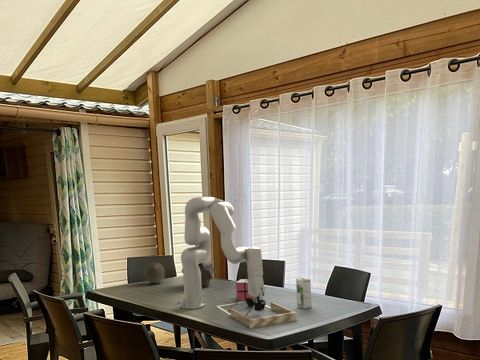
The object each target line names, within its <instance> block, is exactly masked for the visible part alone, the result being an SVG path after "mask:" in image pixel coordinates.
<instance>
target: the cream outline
mask: <svg viewBox="0 0 480 360" xmlns="http://www.w3.org/2000/svg"><path fill="white" fill-rule="evenodd" d="M235 303H237V302H235ZM235 303H227V304H223V305H221V304H220V305H216V306H215V307H216V308H217V309H219V310H221V311H222V312H223V313H225V314H227V315H228V316H230V313H228V312H229V311H227V310H226V309H224V308H222V307H227V306H232V305H233V304H235ZM244 303H246V301H241V302H239V303H237V304H235V305H238V304H244ZM246 304H247V303H246ZM233 306H234V305H233ZM265 307H266V308H268V309H270V310H272V309H271V307H270V306H268V305H267V304H266V305H265Z"/></svg>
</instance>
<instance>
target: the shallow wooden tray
mask: <svg viewBox="0 0 480 360" xmlns="http://www.w3.org/2000/svg"><path fill="white" fill-rule="evenodd" d="M269 305H270V306H269V307H271V309H270V310H272V311H274V312H276V313H278V314H275V315H270V316H263V317H258V318H250V317H248V316H245V315H246V314H243V313H242V312H239V311H238V310H237V309H235V308H233V307H231V308H230V307H229V310H230V315H229V316H230V317H231V318H234V319H235V320H236V321H238V322H240V323H241V324H243V325H245V326H246V327H247V328H249V329H254V328H255V327H256V328H260V327H261V328H262V327H266V325H267V326H271V325H277V324H283V323H287V322H294V321H297V320H298V319H297V312H296V311H294V310H292V309H290V308H287V307H285V306H283V305H281V304H278V303H276V302H274V301H270V302H269ZM256 328H255V329H256Z"/></svg>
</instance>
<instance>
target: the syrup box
mask: <svg viewBox="0 0 480 360" xmlns="http://www.w3.org/2000/svg"><path fill="white" fill-rule="evenodd" d="M295 280H296V281H295V282H296V283H295V285H296V306H297V307H298V308H301V309H302V310H303V309H309V308H312V287H311V286H312V284H311V278H307V277H296V278H295Z"/></svg>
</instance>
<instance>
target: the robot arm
mask: <svg viewBox="0 0 480 360" xmlns="http://www.w3.org/2000/svg"><path fill="white" fill-rule="evenodd" d="M234 210H235V209H234V207H233V205H232V204H231V203H229V202H227V201H225V200H222V199H220V198H216V197H214V196H197V197H193V198H191V199H189V200H188V201H187V202H186V204H185V207H184V215H185V216H184V217H185V219H184V221H185V222H184V236H183V237H184V242H185V244H186V245H188V246H192V247H187V248H184V250H183V251H182V252H181V254H180V262H181V265H182V268H183V273H182V276H183V292H184V293H183V298H182V299H181V300H176V301H175V305H181V308H182V309H186V310H195V309H201V308H204V307H205V306H206V303H205V302H204V301H203V293H202V292H203V290H202V289H203V287H201V271H200V268H199V266H198V264H199V263H203V262H206V261H207V260H209V258H210V249H211V248H210V247H211V233H210V231H209V229H208V228H207V227H205V226H201V224H202V220H201V216H200V214H203V213H204V214H205V213H210V216H211V217H212V220H213V221H214V223H215V225H216V227H217V228H218V232H219V233H220V245H221V246H220V247H221V250H222V252H223V254H224V256H225V258H226V259H227V261H228V262H229V263H231V264H233V265H237V264H241V263H245V262H246V267H247V268H246V269H247V279H248V294H249V295H250V296H252V297H253V301H254V307H253V308H254V311H255V312H260V311H263V309H262V305H261V302H262V300H264V296H265V292H266V291H265V283H264V278H263V276H264V270H263V258H262V250H261V247H258V246H253V247H250V246H240V247H239V246H238V247H236V246H235V244H234V241H233V233H234V231H236V224H235V222H234V221H233V219H232V216H233V215H234ZM195 245H196V247H195Z"/></svg>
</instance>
